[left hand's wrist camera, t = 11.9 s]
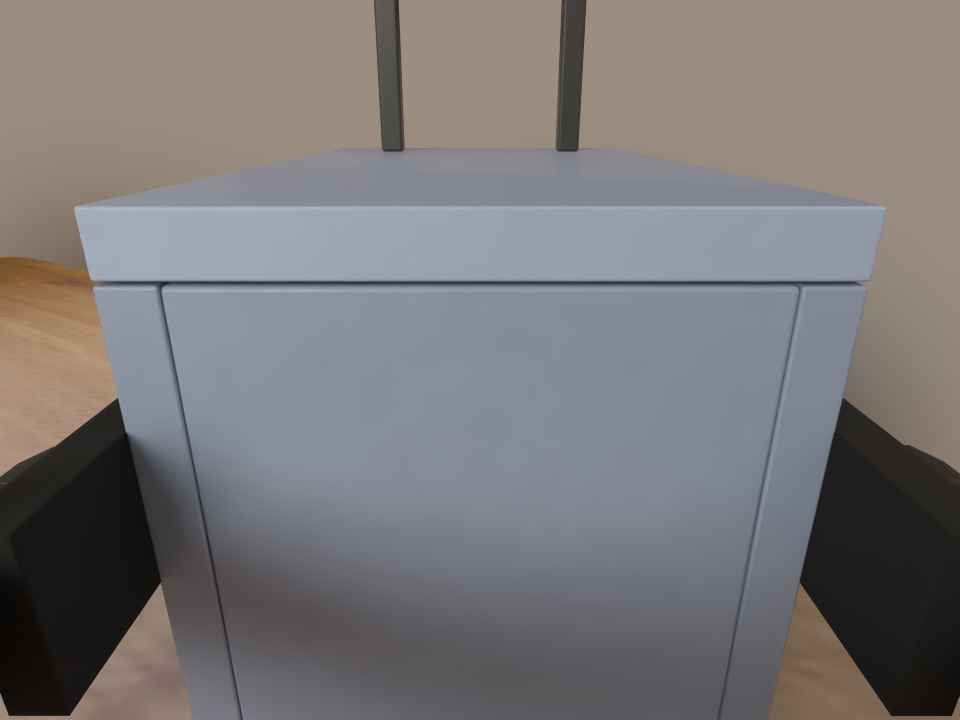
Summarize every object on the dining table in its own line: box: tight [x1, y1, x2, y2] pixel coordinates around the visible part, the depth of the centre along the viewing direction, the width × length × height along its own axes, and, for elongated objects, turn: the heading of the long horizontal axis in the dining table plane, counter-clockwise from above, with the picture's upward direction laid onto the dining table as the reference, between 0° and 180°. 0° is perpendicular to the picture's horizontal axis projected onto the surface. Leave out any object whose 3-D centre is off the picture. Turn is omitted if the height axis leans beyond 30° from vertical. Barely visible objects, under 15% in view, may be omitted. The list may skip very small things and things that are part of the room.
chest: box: [93, 282, 868, 720], centre depth 18 cm, size 16×10×10 cm, turn 0°
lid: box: [74, 0, 887, 282], centre depth 14 cm, size 16×10×8 cm, turn 0°
